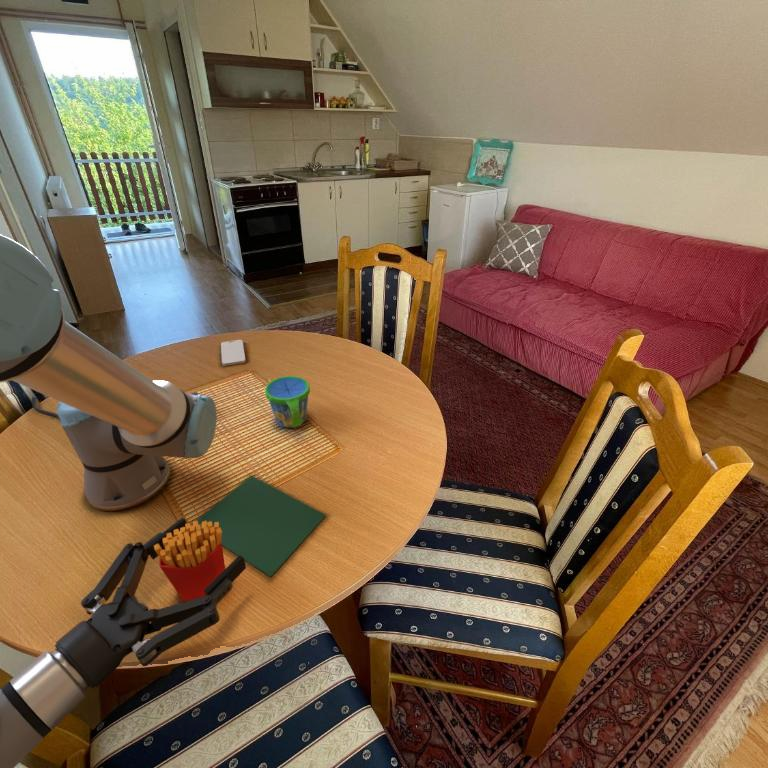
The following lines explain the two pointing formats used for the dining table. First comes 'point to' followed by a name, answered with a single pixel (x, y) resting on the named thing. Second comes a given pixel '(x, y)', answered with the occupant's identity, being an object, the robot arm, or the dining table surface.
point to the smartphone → (232, 352)
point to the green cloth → (262, 524)
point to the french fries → (192, 558)
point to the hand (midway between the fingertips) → (213, 541)
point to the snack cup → (288, 400)
